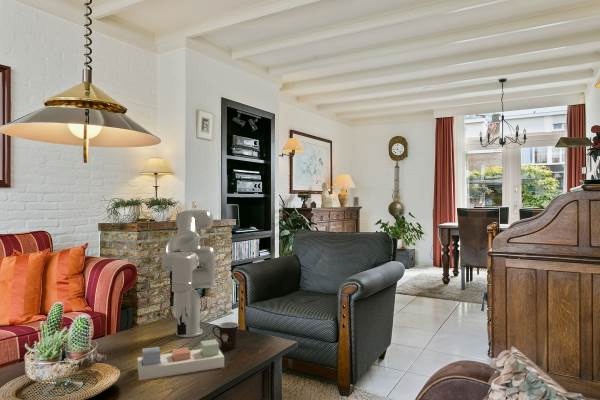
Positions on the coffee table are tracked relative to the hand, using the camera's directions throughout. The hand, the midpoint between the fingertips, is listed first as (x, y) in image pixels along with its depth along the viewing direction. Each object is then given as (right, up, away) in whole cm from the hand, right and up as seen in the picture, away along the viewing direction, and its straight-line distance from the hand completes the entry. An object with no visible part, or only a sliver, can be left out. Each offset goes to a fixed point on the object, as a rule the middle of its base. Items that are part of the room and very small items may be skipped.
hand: (181, 334), depth 159 cm
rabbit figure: (-39, -13, +4) cm, 42 cm away
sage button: (+10, -10, +4) cm, 15 cm away
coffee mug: (+13, -13, +23) cm, 30 cm away
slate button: (-10, -10, -5) cm, 15 cm away
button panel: (0, -13, 0) cm, 13 cm away
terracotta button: (0, -11, 0) cm, 11 cm away
